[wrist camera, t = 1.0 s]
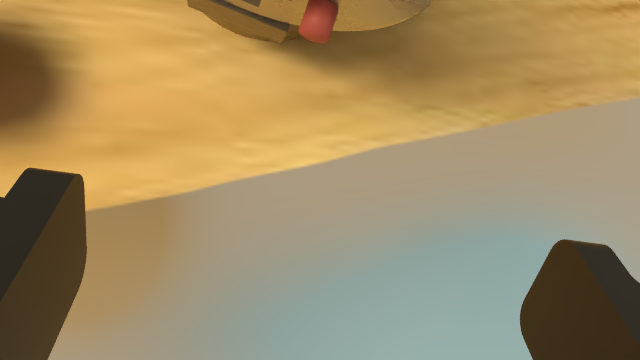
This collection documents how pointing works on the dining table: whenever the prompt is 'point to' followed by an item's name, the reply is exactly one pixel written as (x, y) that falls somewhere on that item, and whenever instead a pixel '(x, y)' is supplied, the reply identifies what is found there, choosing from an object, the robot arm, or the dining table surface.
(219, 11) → the cooker pot
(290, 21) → the lid
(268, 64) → the dining table surface
